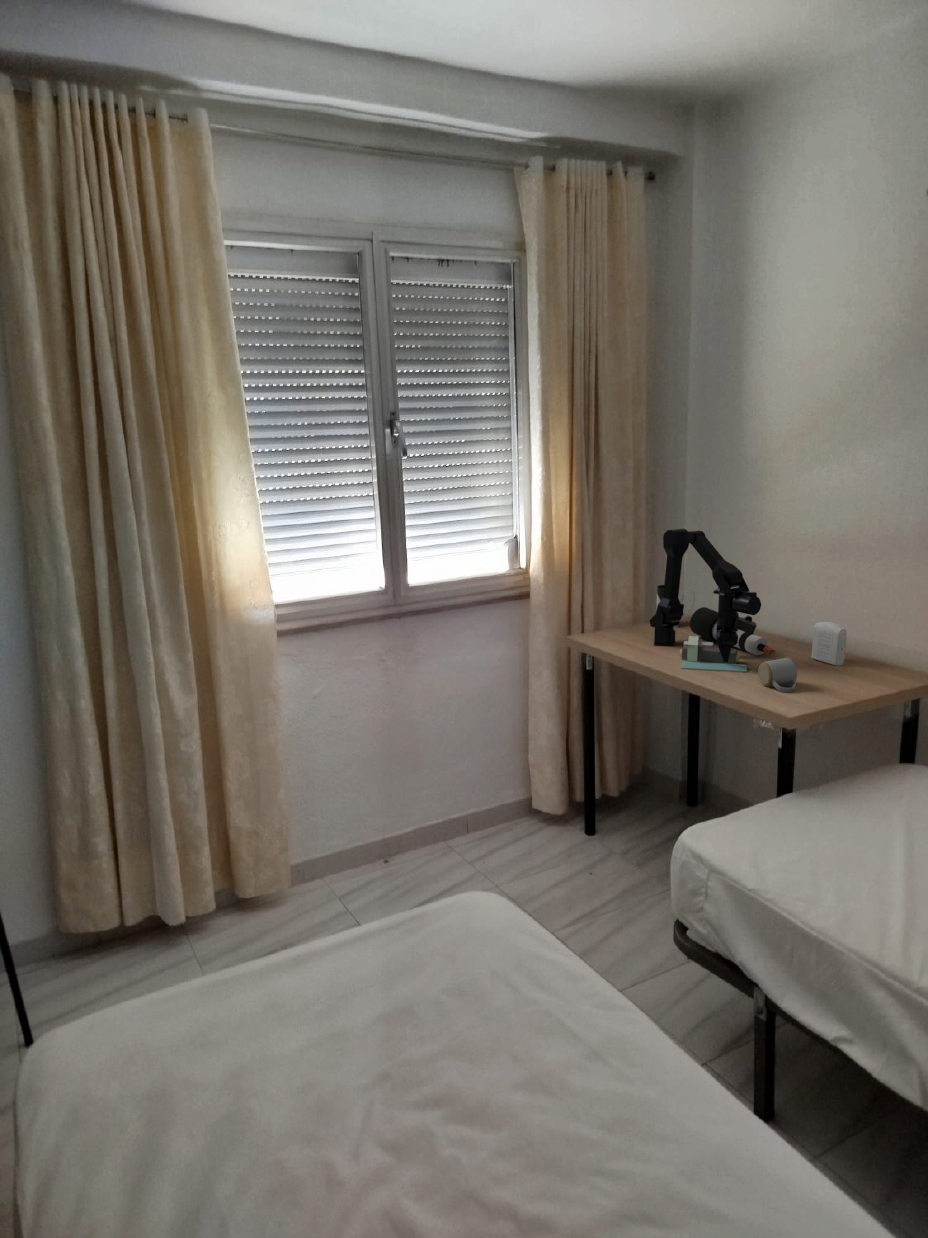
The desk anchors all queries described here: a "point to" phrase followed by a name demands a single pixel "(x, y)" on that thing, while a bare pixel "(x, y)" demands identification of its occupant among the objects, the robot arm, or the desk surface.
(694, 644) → the light grey piece
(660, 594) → the glass holder
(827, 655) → the photo printer
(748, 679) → the desk surface
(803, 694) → the desk surface
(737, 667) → the mat
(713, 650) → the dark gray bar
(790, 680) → the ceramic mug
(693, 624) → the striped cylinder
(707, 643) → the block
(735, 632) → the robot arm
